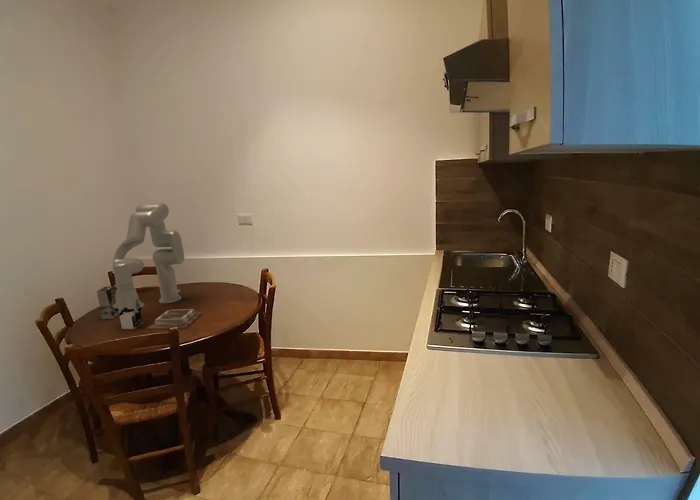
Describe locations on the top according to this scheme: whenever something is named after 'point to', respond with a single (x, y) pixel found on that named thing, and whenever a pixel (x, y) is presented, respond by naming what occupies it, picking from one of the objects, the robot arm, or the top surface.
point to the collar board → (175, 319)
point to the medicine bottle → (129, 319)
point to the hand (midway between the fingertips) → (131, 319)
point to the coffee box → (107, 302)
